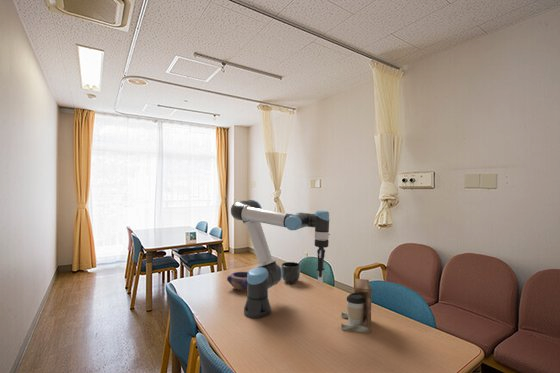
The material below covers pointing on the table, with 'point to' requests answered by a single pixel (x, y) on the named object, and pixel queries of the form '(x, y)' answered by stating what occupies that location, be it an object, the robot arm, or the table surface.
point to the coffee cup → (355, 309)
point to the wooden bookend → (365, 291)
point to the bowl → (238, 280)
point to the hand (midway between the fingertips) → (320, 282)
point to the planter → (290, 272)
